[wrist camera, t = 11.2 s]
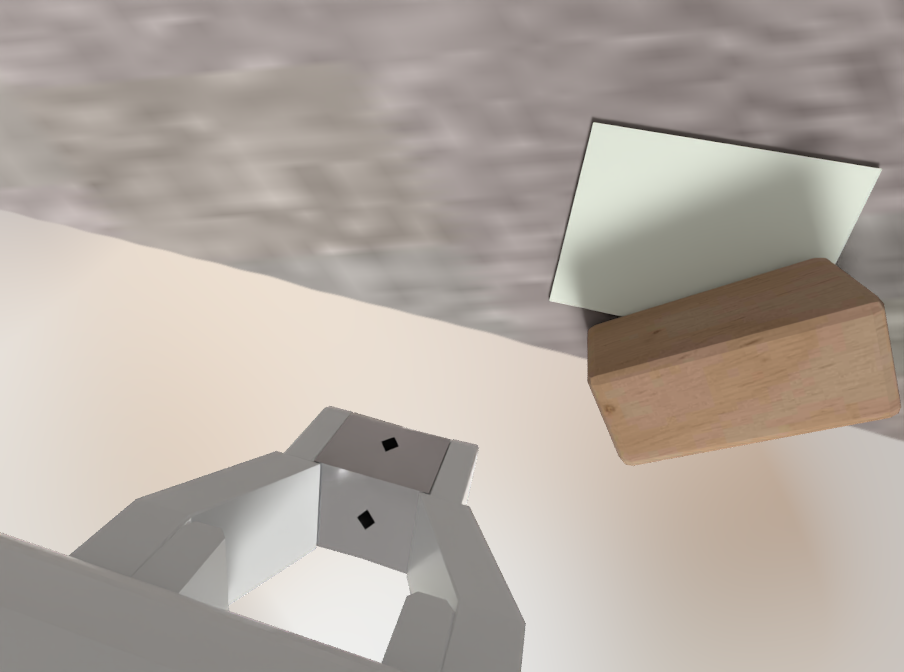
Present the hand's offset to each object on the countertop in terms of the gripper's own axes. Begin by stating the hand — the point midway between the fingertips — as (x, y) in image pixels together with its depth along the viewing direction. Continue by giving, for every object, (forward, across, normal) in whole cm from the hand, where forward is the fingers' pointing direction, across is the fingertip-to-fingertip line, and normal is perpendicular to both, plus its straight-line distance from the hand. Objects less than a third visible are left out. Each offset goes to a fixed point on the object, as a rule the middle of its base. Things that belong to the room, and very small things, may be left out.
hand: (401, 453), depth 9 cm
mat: (+39, -14, +1) cm, 42 cm away
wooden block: (+33, -26, +4) cm, 43 cm away
